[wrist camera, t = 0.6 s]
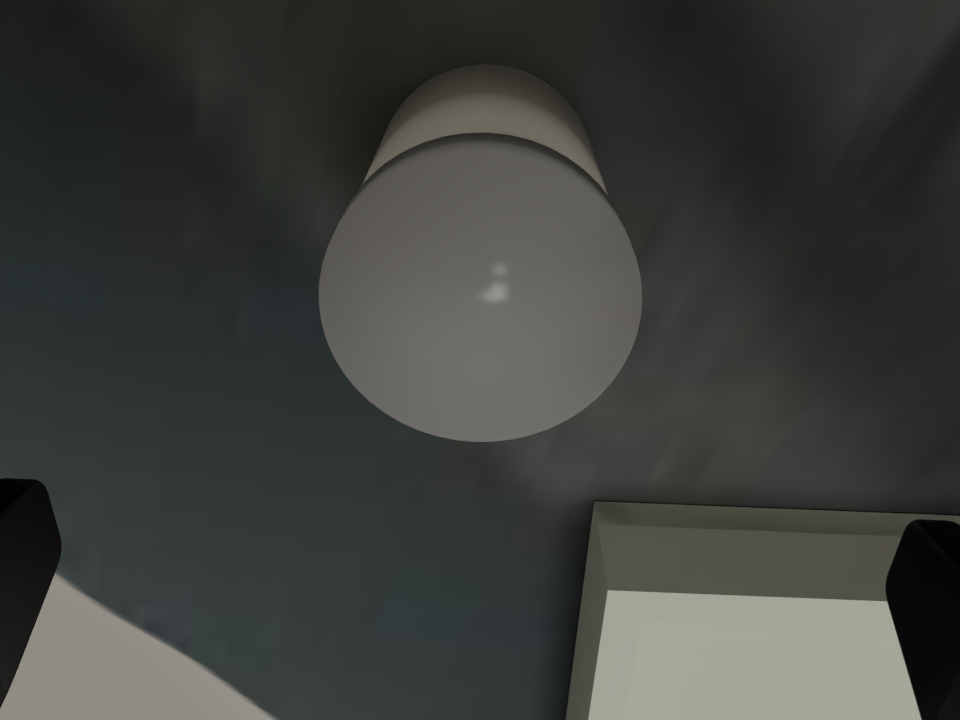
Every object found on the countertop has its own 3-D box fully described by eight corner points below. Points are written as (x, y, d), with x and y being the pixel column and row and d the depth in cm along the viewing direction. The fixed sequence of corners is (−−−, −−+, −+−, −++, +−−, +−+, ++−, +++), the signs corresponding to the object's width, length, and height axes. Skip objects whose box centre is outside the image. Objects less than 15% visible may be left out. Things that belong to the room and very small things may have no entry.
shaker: (609, 63, 18) (664, 157, 12) (586, 281, 21) (621, 447, 15) (371, 54, 18) (308, 143, 12) (377, 273, 21) (327, 436, 15)
